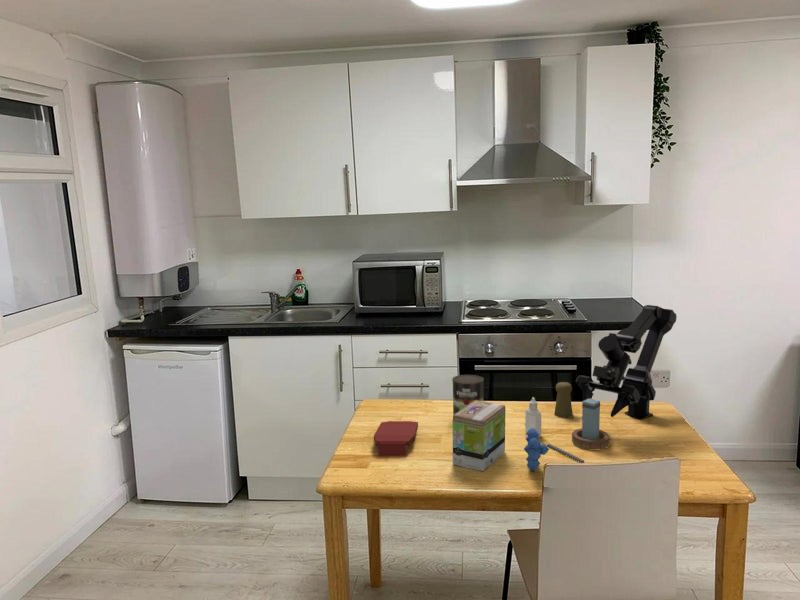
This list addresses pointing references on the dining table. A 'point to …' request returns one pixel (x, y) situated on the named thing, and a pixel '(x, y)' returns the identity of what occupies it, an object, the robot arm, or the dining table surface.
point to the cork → (563, 400)
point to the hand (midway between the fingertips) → (597, 412)
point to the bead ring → (590, 444)
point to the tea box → (478, 435)
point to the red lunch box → (395, 437)
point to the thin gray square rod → (564, 452)
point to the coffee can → (466, 391)
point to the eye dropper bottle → (533, 417)
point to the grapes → (534, 449)
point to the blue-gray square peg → (590, 419)
